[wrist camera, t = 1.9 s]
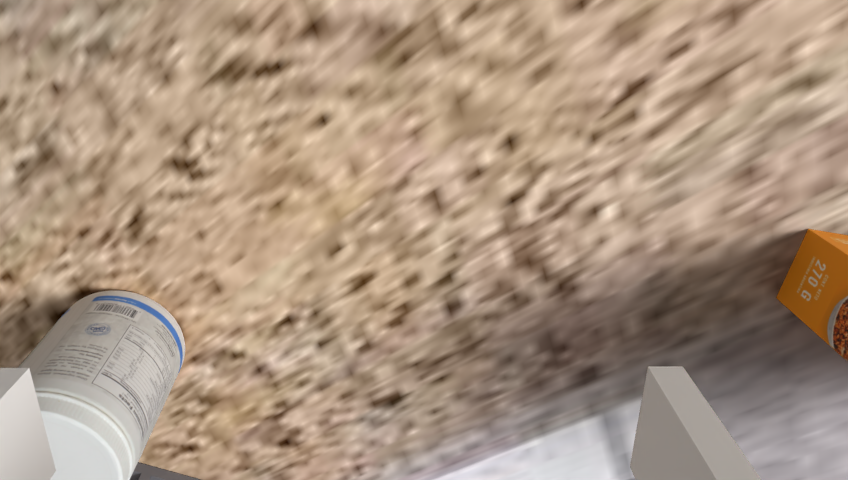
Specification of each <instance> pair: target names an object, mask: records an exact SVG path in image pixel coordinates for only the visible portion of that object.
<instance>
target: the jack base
mask: <svg viewBox="0 0 848 480" xmlns="http://www.w3.org/2000/svg"><path fill="white" fill-rule="evenodd" d="M130 480H200V479H196V478H193V477H189V476H186V475H182V474H178V473H175V472H171V471H168V470H164V469H160V468H157V467H153V466H149V465H146V464H142V463H139V462H138V463H137V465H136V467H135V470H134V472H133V474H132V476H131V478H130Z"/></svg>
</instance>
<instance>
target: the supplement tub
mask: <svg viewBox="0 0 848 480" xmlns="http://www.w3.org/2000/svg"><path fill="white" fill-rule="evenodd" d="M184 356H185V341H184V337H183V333H182V331H181V328H180V327H179V325H178V323H177V321H176V320H175V319H174V317H173V316H172V315H171V314H170V313H169V312H168V311H167V310H166V309H165V308H164V307H163V306H161V305H160V304H158V303H157V302H155V301H154V300H152V299H150V298H148V297H145V296H143V295H140V294H137V293H134V292H129V291H120V290H109V291H102V292H97V293H93V294H91V295H88V296H86V297H84V298H82V299H80V300H79V301H77V302H76V303H74V304H73V305H72V306H71V307H70V308H69V309H68V310H67V311H66V312H65V313H64V314H63V315H62V316H61V318H60V319H59V320H58V321H57V322H56V324H55V325H54V326H53V327H52V328H51V330H50V331H49V332H48V333H47V334H46V335H45V336H44V338H43V339H42V340H41V341H40V342H39V343H38V345H37V346H36V347H35V348H34V349H33V351H32V352H31V353H30V354H29V355H28V356H27V358H26V359H25V360H24V361H23V362H22V363H21V365H20V366H19V367H18V368H29V369H30V372H31V376H32V380H33V384H34V388H35V392H36V395H37V399H38V403H39V407H40V411H41V415H42V419H43V422H44V426H45V430H46V434H47V438H48V442H49V445H50V449H51V453H52V457H53V461H54V465H55V469H56V472H55V473H54V475H53V476H52V477H51V479H50V480H130V478H131V476H132V474H133V472H134V470H135V467H136V465H137V463H138V461H139V459H140V457H141V455H142V452H143V450H144V448H145V446H146V444H147V441H148V439H149V437H150V435H151V432H152V430H153V428H154V426H155V424H156V421H157V419H158V417H159V415H160V413H161V411H162V408H163V406H164V404H165V402H166V400H167V397H168V395H169V393H170V391H171V388H172V386H173V384H174V382H175V380H176V378H177V375H178V373H179V371H180V369H181V367H182V364H183V361H184Z"/></svg>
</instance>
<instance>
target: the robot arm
mask: <svg viewBox="0 0 848 480" xmlns="http://www.w3.org/2000/svg"><path fill="white" fill-rule="evenodd" d="M630 468H631V470H632V472H633V474H634V477H635V479H636V480H761V479H760V477H759V476H758V474H757V473H756V471H755V470H754V468H753V467H752V466H751V464H750V463H749V461H748V460H747V458H746V457H745V455H744V454H743V453H742V451H741V450H740V448H739V447H738V445H737V444H736V442H735V441H734V440H733V438H732V437H731V435H730V434H729V432H728V431H727V429H726V428H725V427H724V425H723V424H722V422H721V421H720V419H719V418H718V416H717V415H716V414H715V412H714V411H713V409H712V408H711V406H710V405H709V404H708V402H707V401H706V399H705V398H704V396H703V395H702V393H701V392H700V391H699V389H698V388H697V386H696V385H695V383H694V382H693V380H692V379H691V378H690V376H689V375H688V373H687V372H686V370H685V369H684V367H683V366H648V368H647V374H646V379H645V385H644V391H643V396H642V402H641V408H640V413H639V419H638V424H637V430H636V436H635V441H634V447H633V453H632V458H631V464H630ZM55 472H56V469H55V465H54V461H53V457H52V453H51V449H50V445H49V442H48V438H47V434H46V430H45V426H44V422H43V419H42V415H41V411H40V407H39V403H38V399H37V395H36V392H35V388H34V384H33V380H32V376H31V372H30V369H29V368H0V480H50V479H51V477H52V476H53V475H54V473H55Z"/></svg>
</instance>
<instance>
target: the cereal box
mask: <svg viewBox="0 0 848 480" xmlns="http://www.w3.org/2000/svg"><path fill="white" fill-rule="evenodd" d="M776 298H777V299H778V300H779V301H780V302H781V303H782V304H783V305H785V306H786V307H787V308H788V309H789V310H790V311H791V312H792V313H794V314H795V315H796V316H797V317H798V318H799V319H800V320H801V321H803V322H804V323H805V324H806V325H807V326H808V327H809V328H810V329H812V330H813V331H814V332H815V333H816V334H817V335H818V336H819V337H821V338H822V339H823V340H824V341H825V342H826V343H827V344H828V345H829V346H831V347H832V348H833V349H834V350H835V351H836V352H837V353H838V354H840V355H841V356H842V357H843V358H844V359H845V360H846V361H847V362H848V235H843V234H837V233H831V232H825V231H819V230H813V229H808V230H807V232H806V234H805V237H804V239H803V241H802V243H801V245H800V247H799V250H798V252H797V254H796V256H795V258H794V260H793V263H792V265H791V267H790V269H789V271H788V273H787V275H786V278H785V280H784V282H783V284H782V286H781V288H780V291H779V293H778V295H777V297H776Z"/></svg>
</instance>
